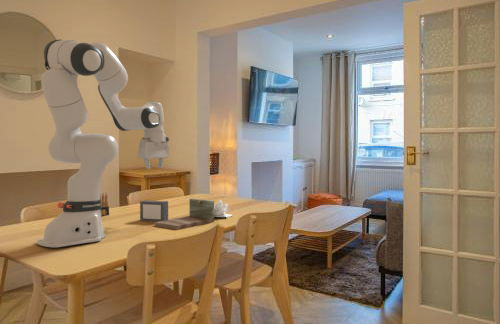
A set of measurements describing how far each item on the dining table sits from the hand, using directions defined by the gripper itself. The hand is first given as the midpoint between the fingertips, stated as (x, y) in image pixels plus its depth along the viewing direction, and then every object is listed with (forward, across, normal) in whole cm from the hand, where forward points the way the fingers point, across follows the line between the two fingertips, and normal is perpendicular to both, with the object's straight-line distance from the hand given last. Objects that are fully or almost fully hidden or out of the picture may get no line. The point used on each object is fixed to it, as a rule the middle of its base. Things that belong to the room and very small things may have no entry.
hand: (154, 168), depth 166 cm
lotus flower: (+24, +18, -23) cm, 38 cm away
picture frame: (+24, 0, 0) cm, 24 cm away
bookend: (+24, -3, -17) cm, 29 cm away
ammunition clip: (+24, -2, +29) cm, 38 cm away
